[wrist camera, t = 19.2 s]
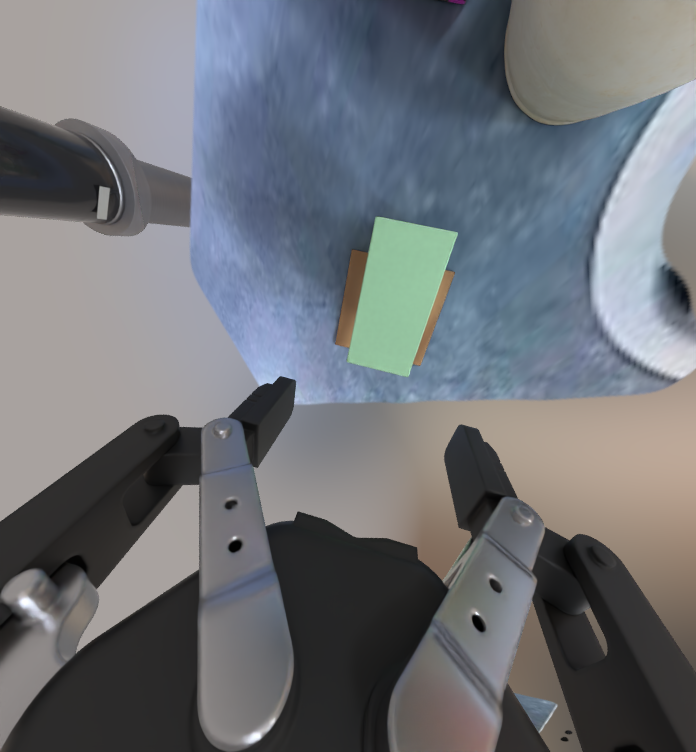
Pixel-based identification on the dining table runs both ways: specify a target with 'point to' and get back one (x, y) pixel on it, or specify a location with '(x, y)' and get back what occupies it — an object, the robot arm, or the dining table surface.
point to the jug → (596, 55)
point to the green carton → (398, 293)
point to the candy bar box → (456, 1)
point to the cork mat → (352, 300)
